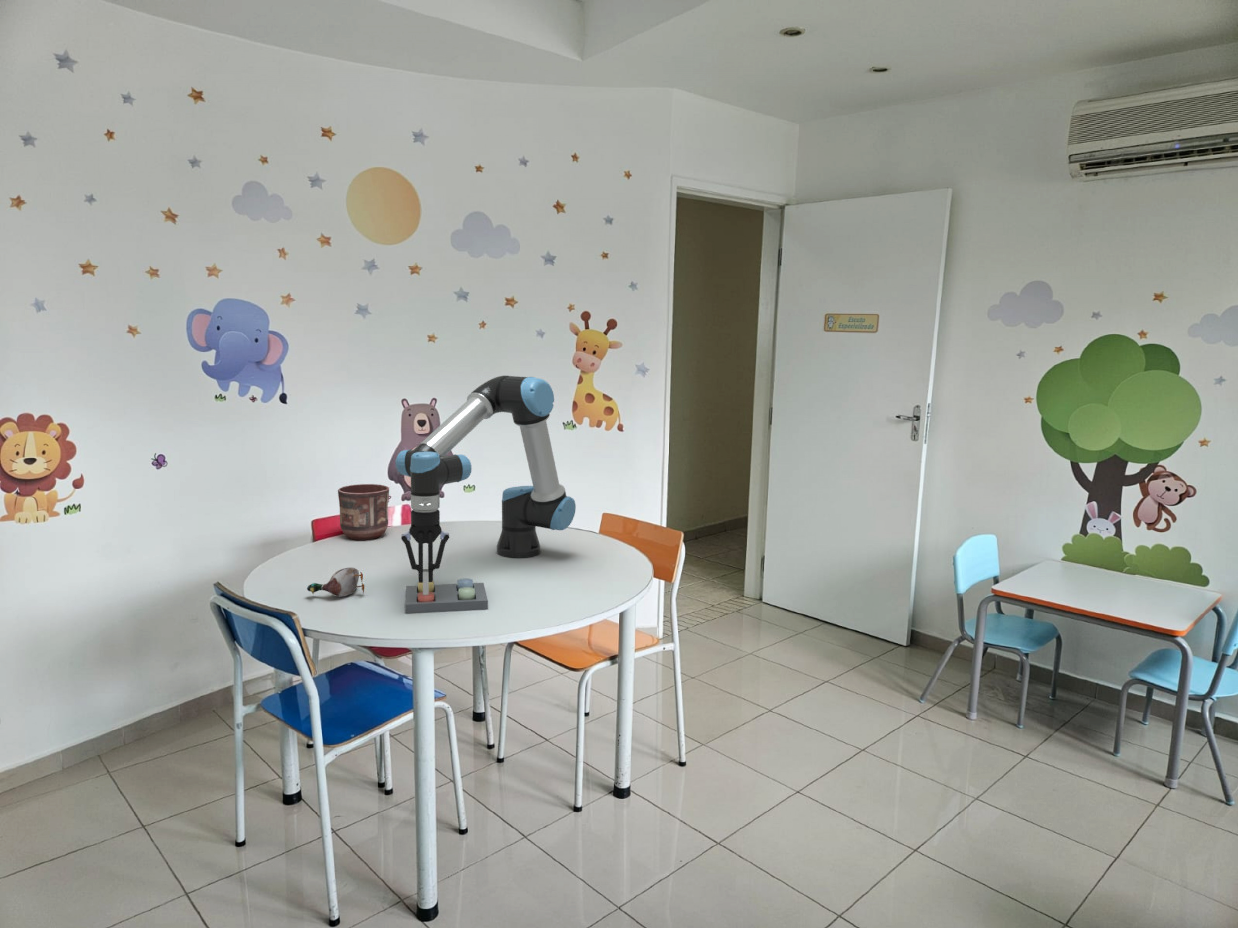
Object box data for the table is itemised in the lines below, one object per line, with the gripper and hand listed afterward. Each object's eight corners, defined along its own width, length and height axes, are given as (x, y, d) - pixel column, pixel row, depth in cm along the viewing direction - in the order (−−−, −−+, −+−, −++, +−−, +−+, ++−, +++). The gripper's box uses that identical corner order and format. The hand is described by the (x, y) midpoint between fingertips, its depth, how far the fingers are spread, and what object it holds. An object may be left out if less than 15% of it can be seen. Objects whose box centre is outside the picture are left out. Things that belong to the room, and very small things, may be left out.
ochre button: (433, 590, 226) (433, 579, 225) (434, 595, 221) (433, 584, 221) (418, 591, 224) (417, 580, 224) (417, 596, 220) (417, 585, 220)
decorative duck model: (301, 580, 215) (316, 562, 230) (305, 606, 217) (320, 586, 231) (357, 575, 217) (368, 557, 231) (360, 600, 218) (371, 582, 233)
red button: (434, 602, 218) (434, 591, 217) (434, 607, 214) (434, 596, 213) (417, 603, 217) (417, 591, 216) (417, 608, 213) (417, 596, 212)
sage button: (474, 597, 221) (474, 586, 220) (475, 603, 216) (475, 591, 216) (458, 598, 219) (458, 587, 219) (459, 603, 215) (459, 592, 215)
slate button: (472, 588, 228) (472, 578, 228) (473, 593, 224) (473, 582, 223) (457, 589, 227) (457, 578, 227) (457, 594, 223) (457, 583, 222)
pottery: (381, 543, 278) (380, 494, 275) (332, 541, 278) (330, 492, 275) (395, 531, 295) (395, 484, 293) (349, 529, 296) (348, 483, 293)
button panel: (483, 590, 231) (483, 582, 231) (487, 609, 216) (487, 600, 215) (406, 594, 226) (406, 585, 225) (405, 613, 210) (405, 604, 210)
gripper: (399, 513, 206) (400, 598, 210) (450, 512, 209) (450, 596, 213) (400, 506, 213) (401, 590, 217) (449, 506, 216) (449, 588, 220)
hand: (425, 593), depth 215 cm, fingers closed
